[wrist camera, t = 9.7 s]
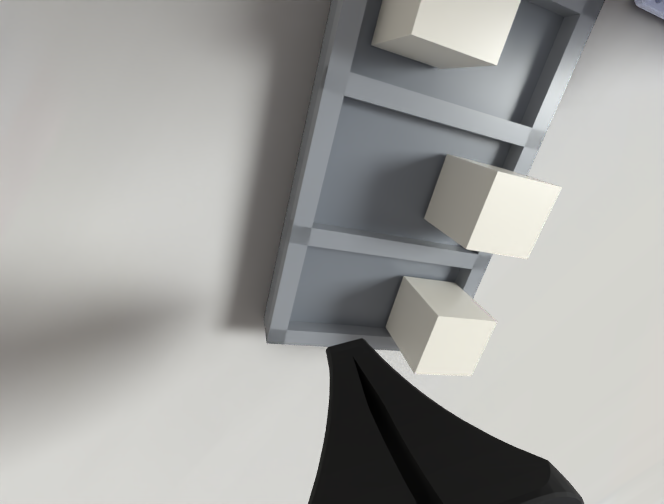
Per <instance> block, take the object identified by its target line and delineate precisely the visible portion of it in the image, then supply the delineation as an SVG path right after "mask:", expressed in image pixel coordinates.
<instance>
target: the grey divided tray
mask: <svg viewBox="0 0 664 504" xmlns="http://www.w3.org/2000/svg"><path fill="white" fill-rule="evenodd" d="M604 1H605V0H521V2H520V4H519V7H518V10H517V12H516V15H515V18H514V20H513V23H512V26H511V29H510V31H509V34H508V37H507V39H506V42H505V45H504V47H503V50H502V53H501V55H500V58H499V61H498V64H497V65H494V66H479V67H463V68H447V69H439V68H437V67H434V66H431V65H428V64H425V63H422V62H419V61H416V60H413V59H410V58H407V57H404V56H401V55H398V54H395V53H392V52H389V51H386V50H383V49H380V48H377V47H374V46H371V43H372V39H373V35H374V31H375V27H376V24H377V20H378V16H379V12H380V8H381V4H382V0H332V1H331V5H330V10H329V15H328V20H327V24H326V29H325V34H324V38H323V43H322V48H321V52H320V57H319V62H318V67H317V71H316V76H315V81H314V85H313V90H312V95H311V99H310V104H309V109H308V113H307V118H306V123H305V128H304V132H303V137H302V142H301V146H300V151H299V156H298V160H297V165H296V170H295V174H294V179H293V184H292V189H291V193H290V198H289V203H288V207H287V212H286V217H285V221H284V226H283V231H282V235H281V240H280V245H279V250H278V254H277V259H276V264H275V268H274V273H273V278H272V282H271V287H270V292H269V296H268V301H267V306H266V311H265V315H264V325H265V333H266V341H267V343H271V344H289V345H306V346H324V347H330V346H334V345H337V344H341V343H345V342H349V341H353V340H356V339H360V338H363V339H365V340H366V341H367V342H368V344H369V345H370V346H371V347H372V348H373V349H377V350H394V351H400V350H399V348H398V346H397V345H396V343H395V341H394V340H393V338H392V337H391V335H390V333H389V332H388V330H387V328H386V324H387V321H388V319H389V316H390V313H391V310H392V307H393V304H394V302H395V299H396V296H397V293H398V290H399V288H400V285H401V282H402V279H403V276H408V277H415V278H423V279H431V280H439V281H446V282H454V283H456V284H457V285H458V286H459V287H460V288H461V289H462V290H464V291H465V292H466V293H467V294H468V295H469V296H470V297H471V298H472V299H473V298H474V295H475V293H476V291H477V288H478V286H479V284H480V282H481V279H482V277H483V275H484V273H485V270H486V268H487V266H488V264H489V261H490V259H491V257H492V255H493V254H492V253H486V252H480V251H474V250H468V249H465V248H464V247H462V246H461V245H459V244H458V243H457V242H455V241H454V240H453V239H451V238H450V237H448V236H447V235H446V234H444V233H443V232H442V231H440V230H439V229H437V228H436V227H435V226H433V225H432V224H430V223H429V222H428V221H426V220H425V219H424V217H425V214H426V212H427V209H428V206H429V203H430V200H431V197H432V195H433V192H434V189H435V186H436V183H437V181H438V178H439V175H440V172H441V169H442V167H443V164H444V161H445V158H446V155H447V154H449V155H453V156H457V157H461V158H465V159H469V160H473V161H476V162H480V163H484V164H488V165H492V166H496V167H500V168H504V169H507V170H510V171H513V172H516V173H519V174H522V175H525V176H527V175H528V173H529V171H530V168H531V166H532V164H533V162H534V159H535V157H536V155H537V153H538V150H539V148H540V146H541V144H542V141H543V139H544V137H545V134H546V132H547V130H548V128H549V125H550V123H551V121H552V119H553V116H554V114H555V112H556V110H557V107H558V105H559V103H560V100H561V98H562V96H563V94H564V91H565V89H566V87H567V85H568V82H569V80H570V78H571V76H572V73H573V71H574V69H575V67H576V64H577V62H578V60H579V57H580V55H581V53H582V51H583V48H584V46H585V44H586V42H587V39H588V37H589V35H590V33H591V30H592V28H593V26H594V23H595V21H596V19H597V17H598V14H599V12H600V10H601V8H602V5H603V3H604Z"/></svg>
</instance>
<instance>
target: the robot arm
mask: <svg viewBox="0 0 664 504" xmlns="http://www.w3.org/2000/svg"><path fill="white" fill-rule="evenodd" d="M635 4H636V5H637V6H638V7H640V8H642V9H644V10H646V11H648V12H650V13H652V14H654V15H656V16H658V17H660V18H662V19H664V0H635ZM326 354H327V359H328V365H329V370H330V395H329V407H328V417H327V425H326V432H325V437H324V443H323V448H322V453H321V457H320V462H319V466H318V471H317V475H316V478H315V482H314V485H313V489H312V492H311V496H310V499H309V502H308V504H584V502H583V499H582V497H581V496H580V495H579V494H578V492H577V491H576V490H575V489H574V487H573V486H572V485H571V484H570V483H569V482H568V480H567V479H566V478H565V477H564V476H563V475H562V474H561V473H560V472H559V471H558V470H557V469H556V468H555V467H554V466H553V465H552V464H551V463H550V462H549V461H548V460H546V459H543V458H541V457H538V456H536V455H533V454H531V453H529V452H526V451H524V450H521V449H519V448H516V447H514V446H512V445H510V444H507V443H505V442H503V441H501V440H499V439H497V438H495V437H493V436H491V435H489V434H487V433H485V432H484V431H482V430H480V429H478V428H476V427H475V426H473V425H471V424H469V423H467V422H465V421H464V420H462V419H460V418H459V417H457V416H455V415H454V414H452V413H451V412H449V411H447V410H446V409H444V408H443V407H441V406H440V405H439V404H437V403H436V402H434V401H433V400H431V399H430V398H429V397H427V396H426V395H425V394H423V393H422V392H421V391H419V390H418V389H417V388H416V387H414V386H413V385H412V384H411V383H409V382H408V381H407V380H406V379H405V378H403V377H402V376H401V375H400V374H399V373H398V372H397V371H396V370H394V369H393V368H392V367H391V366H390V365H389V364H388V363H387V362H386V361H385V360H384V359H383V358H382V357H381V356H380V355H379V354H378V353H377V352H376V351H375V350H374V349H373V348H372V347H371V346H370V345H369V344H368V342H367V341H366V340H365V339H363V338H360V339H356V340H353V341H349V342H345V343H341V344H337V345H334V346H330V347H328V348H327V349H326Z"/></svg>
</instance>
